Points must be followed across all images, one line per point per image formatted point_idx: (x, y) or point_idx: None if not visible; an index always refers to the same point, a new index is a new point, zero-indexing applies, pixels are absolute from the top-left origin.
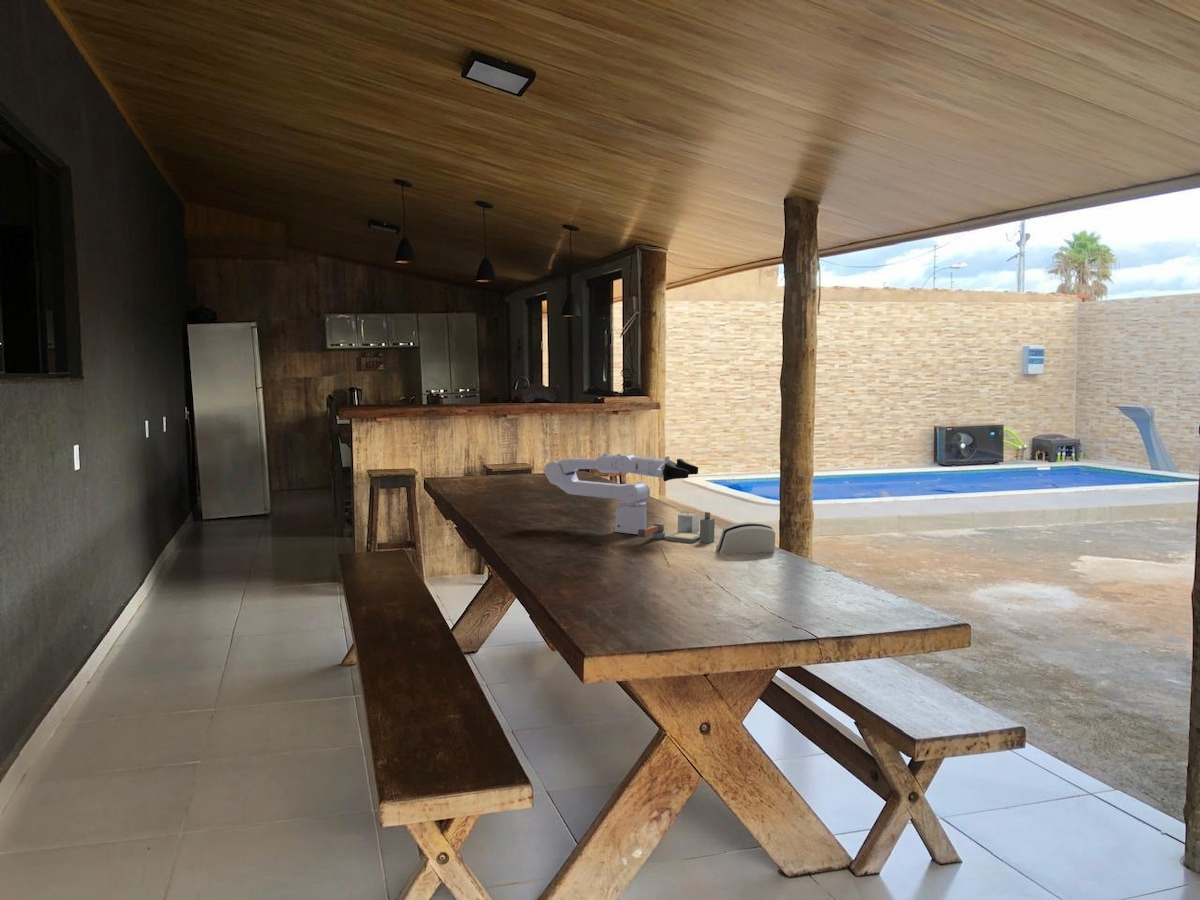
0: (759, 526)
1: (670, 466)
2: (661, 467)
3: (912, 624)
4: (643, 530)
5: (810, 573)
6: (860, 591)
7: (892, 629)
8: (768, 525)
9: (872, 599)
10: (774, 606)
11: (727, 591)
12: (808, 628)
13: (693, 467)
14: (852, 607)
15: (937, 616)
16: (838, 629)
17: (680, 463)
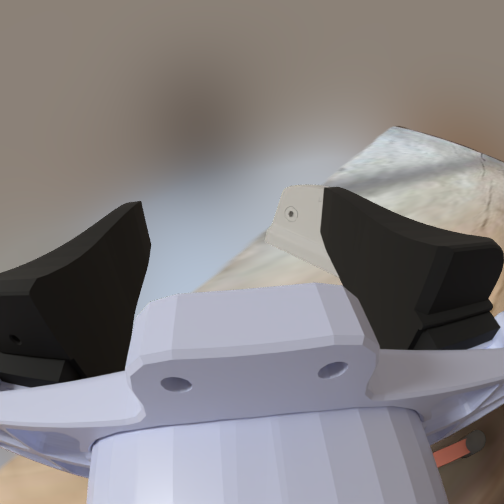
0: (324, 186)
1: (451, 232)
2: (494, 350)
3: (418, 134)
4: (477, 430)
5: (367, 174)
6: (384, 149)
7: (436, 137)
8: (291, 186)
9: (396, 144)
10: (474, 171)
11: (489, 197)
12: (478, 156)
13: (133, 220)
14: (425, 148)
15: (392, 129)
16: (463, 149)
17: (73, 296)
